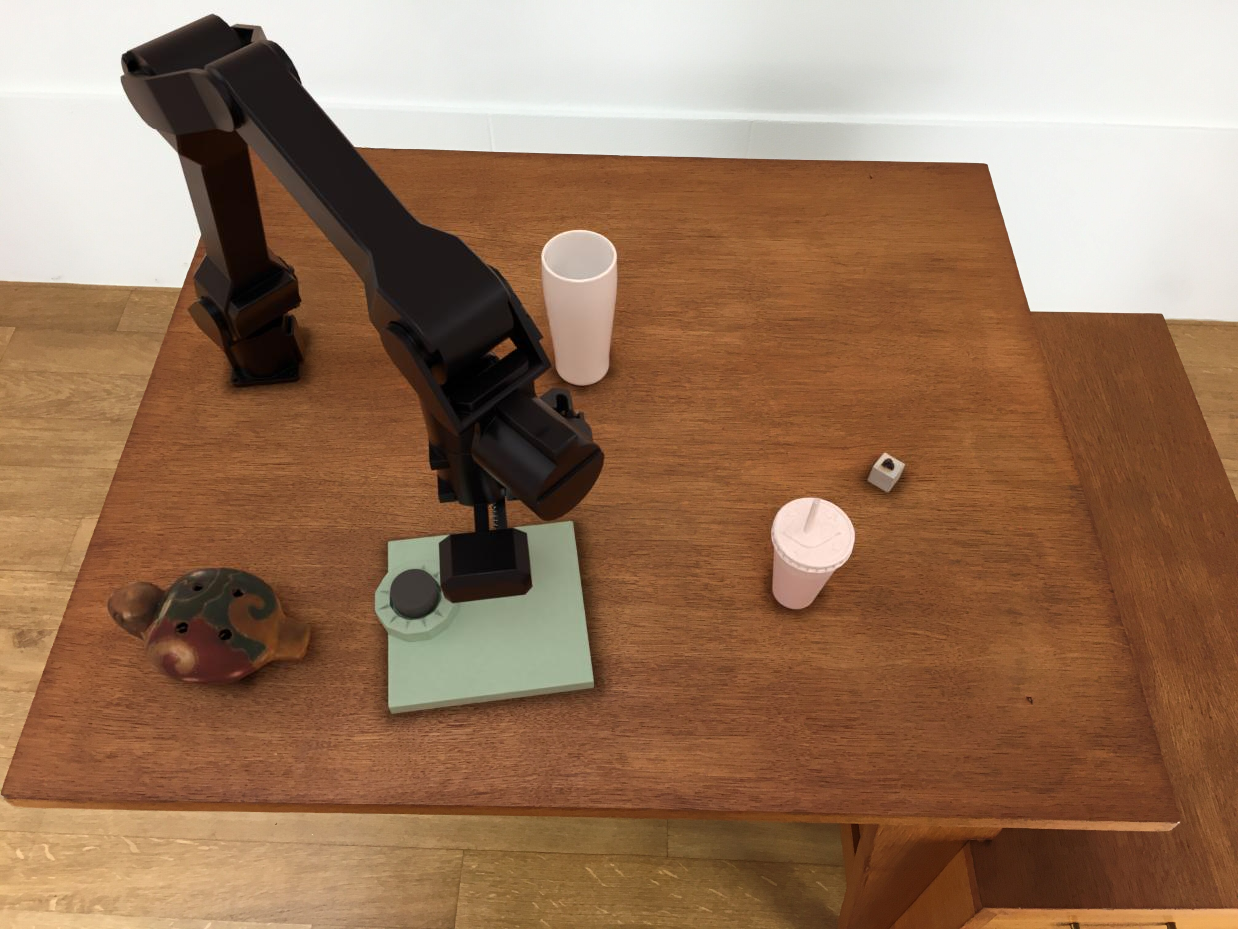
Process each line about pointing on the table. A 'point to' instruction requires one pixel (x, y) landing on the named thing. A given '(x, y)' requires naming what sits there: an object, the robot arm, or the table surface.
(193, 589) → the multicoloured rounded piece
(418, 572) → the power button
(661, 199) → the table surface
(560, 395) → the robot arm
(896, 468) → the cube with dark pebbles
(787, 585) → the smoothie
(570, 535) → the scale
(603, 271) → the drinking glass
